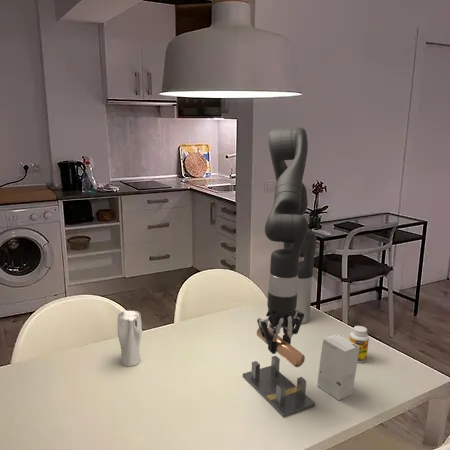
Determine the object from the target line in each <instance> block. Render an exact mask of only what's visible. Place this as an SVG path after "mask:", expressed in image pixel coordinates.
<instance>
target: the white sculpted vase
mask: <svg viewBox="0 0 450 450" xmlns="http://www.w3.org/2000/svg"><path fill="white" fill-rule="evenodd" d="M141 315H142V314H141V312H139V311H137V310H124V311H120V313H118V315H117V337H118V341H119V346H120V350H121V351H120V353H121V354H120V360H119V361H120V362H119V363H120V364H121V365H122V366H124V367H134V366H137V365H139V364H140V363H141V361H142V360H141V358H142V357H141V353H140V344H141V339H142V331H143V330H142V329H143V328H142V327H143V326H142V325H143V323H142V317H141Z"/></svg>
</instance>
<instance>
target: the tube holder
mask: <svg viewBox="0 0 450 450" xmlns="http://www.w3.org/2000/svg"><path fill="white" fill-rule="evenodd" d="M280 362H281V360H280V357H278V356H277V355H274V356H271V363H270V364H271V365H269V366H265V367H261V365H260V363H259V361H257V360H254V361H251V370H250V371H248V372H244V373H242V378H244V380H245V381H246V382H247V383H248V384H249V385H250V386H251V387H252V388H253V389H254V390H255V391H256V392H257V393H258V394H259V395H260V396H261V397H262V398H263V399H264V400H265V401H266V402H268V403H269V405H270V406H271V407H272V408H274V410H276V412H277V413H278V414H279V415H281V417H283V418H285V417H288V416H291V415H294V414H298V413H299V412H302V411H305V410H308V409H311V408H314V407H316V402H315V401H314V400H313V399H312V398H310V396H308V395H307V394H306V389H307V380H306V379H305V378H304V377H303V376H300V377H297V380H296V385H295V384H294V383H293V382H292V381H291V380H290V379H289V378H287V377H286V376H285V375H284V374H282V372H280V365H281V364H280Z"/></svg>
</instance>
